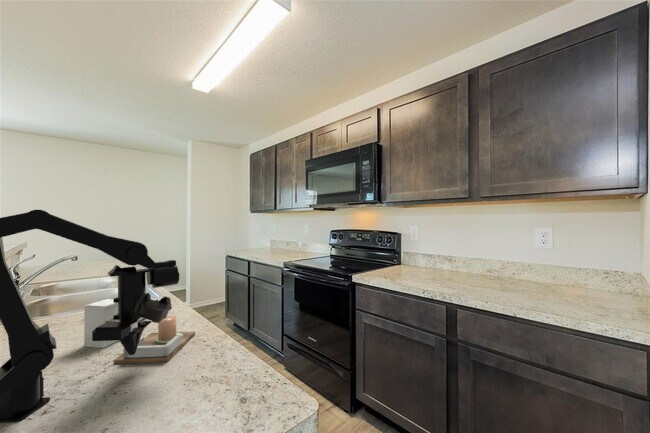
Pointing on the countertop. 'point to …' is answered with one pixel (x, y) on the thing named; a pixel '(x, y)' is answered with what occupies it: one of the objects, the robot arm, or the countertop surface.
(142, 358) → the board
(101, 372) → the countertop surface
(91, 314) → the supplement box
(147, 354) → the frame
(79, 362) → the countertop surface
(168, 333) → the stub
